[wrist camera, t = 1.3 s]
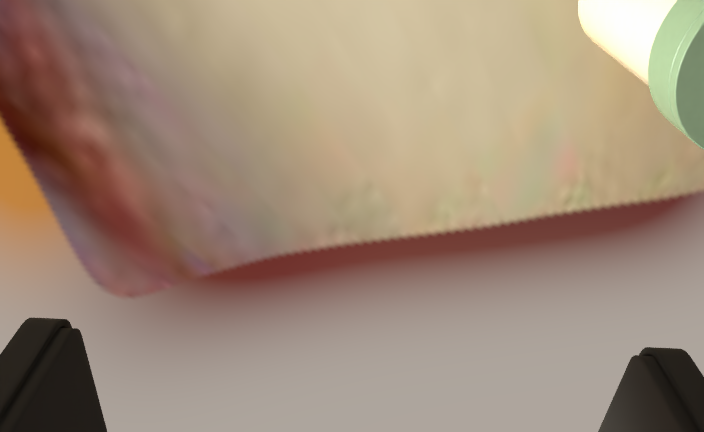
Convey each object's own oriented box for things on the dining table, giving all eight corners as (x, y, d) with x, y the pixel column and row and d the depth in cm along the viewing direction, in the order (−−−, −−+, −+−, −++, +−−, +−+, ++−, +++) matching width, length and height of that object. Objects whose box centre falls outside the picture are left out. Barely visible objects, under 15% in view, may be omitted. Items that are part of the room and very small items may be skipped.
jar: (603, -82, 29) (735, -46, 19) (722, -62, 30) (912, -17, 19) (561, 43, 33) (653, 130, 22) (668, 59, 33) (806, 151, 23)
